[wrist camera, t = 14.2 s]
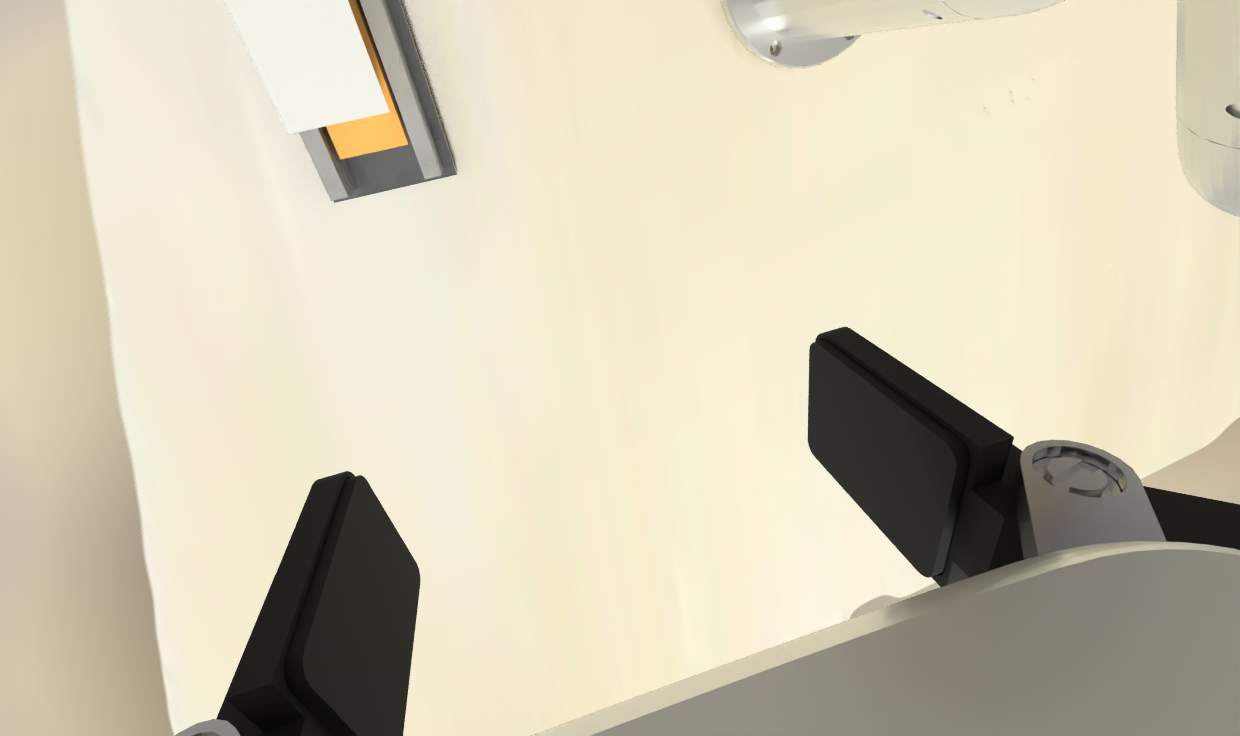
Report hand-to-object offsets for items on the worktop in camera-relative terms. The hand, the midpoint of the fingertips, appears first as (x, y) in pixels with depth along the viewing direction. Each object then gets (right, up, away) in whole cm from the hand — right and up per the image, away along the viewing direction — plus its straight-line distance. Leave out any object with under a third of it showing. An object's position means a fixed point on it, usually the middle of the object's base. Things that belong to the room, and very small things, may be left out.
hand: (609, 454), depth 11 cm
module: (-16, +19, +17) cm, 30 cm away
